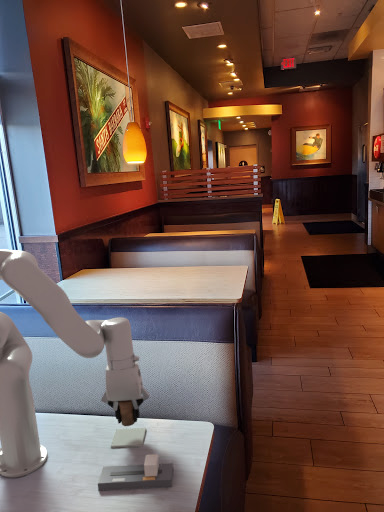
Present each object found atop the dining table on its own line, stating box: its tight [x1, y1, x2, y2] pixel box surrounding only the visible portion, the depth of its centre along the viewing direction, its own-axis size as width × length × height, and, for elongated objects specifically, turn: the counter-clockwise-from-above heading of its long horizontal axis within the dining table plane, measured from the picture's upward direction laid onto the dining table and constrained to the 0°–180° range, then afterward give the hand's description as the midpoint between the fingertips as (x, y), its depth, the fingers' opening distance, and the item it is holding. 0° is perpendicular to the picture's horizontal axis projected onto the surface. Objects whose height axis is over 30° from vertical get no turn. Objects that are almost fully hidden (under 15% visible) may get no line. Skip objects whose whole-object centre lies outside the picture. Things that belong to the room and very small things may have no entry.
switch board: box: [97, 462, 174, 492], centre depth 101 cm, size 18×6×2 cm, turn 89°
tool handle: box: [119, 400, 136, 427], centre depth 117 cm, size 4×4×9 cm
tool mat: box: [110, 427, 147, 449], centre depth 119 cm, size 9×8×1 cm
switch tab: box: [144, 453, 160, 477], centre depth 101 cm, size 3×4×3 cm
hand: (128, 419), depth 118 cm, fingers closed on tool handle, 4 cm apart
